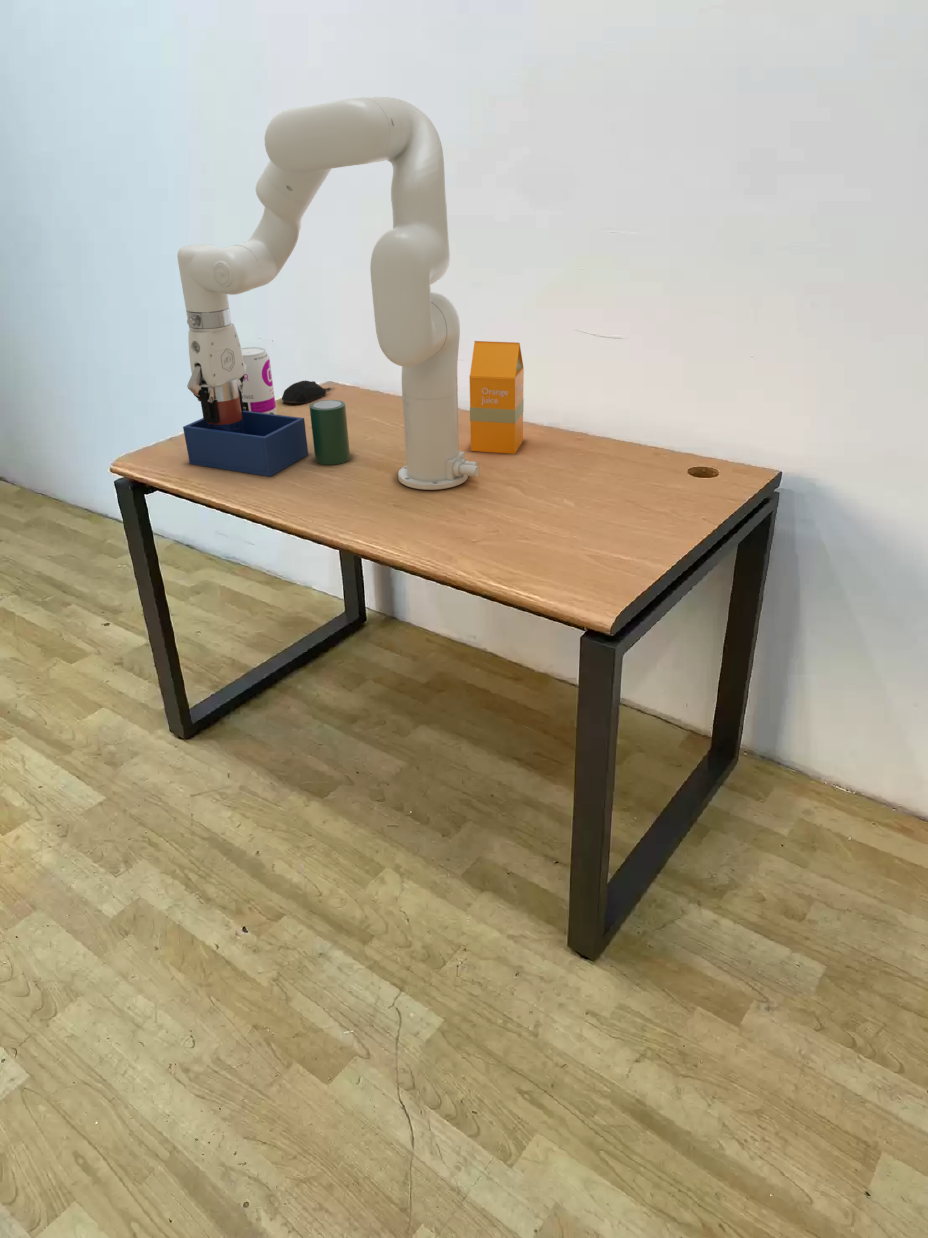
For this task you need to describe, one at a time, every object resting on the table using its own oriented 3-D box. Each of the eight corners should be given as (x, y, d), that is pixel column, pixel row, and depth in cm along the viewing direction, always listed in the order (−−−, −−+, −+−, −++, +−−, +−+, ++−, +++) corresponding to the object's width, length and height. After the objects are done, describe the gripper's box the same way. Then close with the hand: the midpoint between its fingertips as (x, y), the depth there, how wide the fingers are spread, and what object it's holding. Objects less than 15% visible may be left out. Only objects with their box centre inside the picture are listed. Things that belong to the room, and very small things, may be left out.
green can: (356, 455, 173) (351, 401, 168) (338, 466, 168) (333, 411, 163) (327, 451, 176) (321, 397, 171) (308, 462, 171) (302, 407, 165)
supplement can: (281, 416, 196) (273, 346, 189) (271, 428, 189) (261, 356, 182) (245, 416, 197) (235, 346, 190) (233, 428, 190) (222, 356, 183)
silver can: (251, 430, 174) (243, 375, 168) (230, 441, 168) (221, 384, 163) (223, 426, 176) (215, 372, 171) (201, 436, 171) (192, 381, 166)
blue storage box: (308, 454, 174) (304, 417, 171) (270, 476, 165) (265, 438, 161) (230, 443, 181) (225, 407, 178) (189, 463, 171) (182, 426, 168)
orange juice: (515, 454, 172) (515, 347, 162) (470, 451, 174) (468, 345, 164) (523, 440, 178) (524, 337, 168) (480, 438, 181) (478, 336, 171)
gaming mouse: (340, 391, 213) (338, 374, 211) (296, 407, 202) (294, 389, 200) (320, 387, 216) (318, 370, 214) (276, 403, 205) (274, 385, 203)
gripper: (194, 330, 154) (211, 432, 162) (255, 311, 167) (267, 406, 176) (160, 327, 156) (178, 427, 165) (222, 308, 170) (236, 402, 179)
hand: (224, 415), depth 171 cm, fingers closed on silver can, 6 cm apart
